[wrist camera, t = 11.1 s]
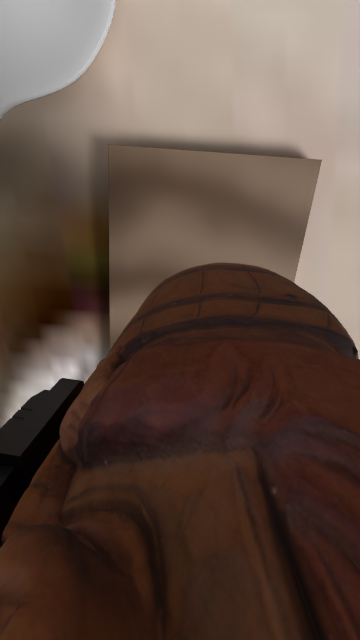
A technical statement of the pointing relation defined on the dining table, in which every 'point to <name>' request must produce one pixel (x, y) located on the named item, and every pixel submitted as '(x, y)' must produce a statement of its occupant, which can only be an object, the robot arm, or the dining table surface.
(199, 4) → the dining table surface
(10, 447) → the robot arm
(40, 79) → the spoon
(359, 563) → the wooden figurine
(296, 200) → the walnut board
